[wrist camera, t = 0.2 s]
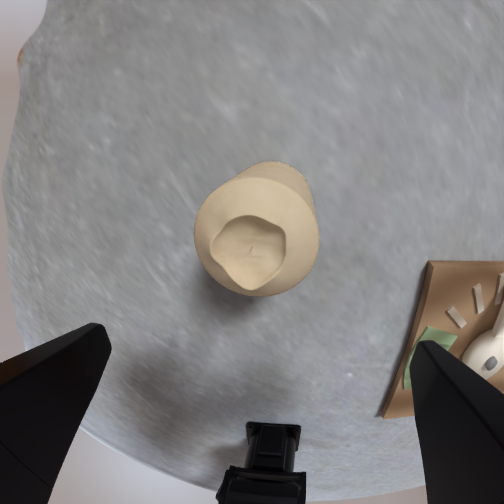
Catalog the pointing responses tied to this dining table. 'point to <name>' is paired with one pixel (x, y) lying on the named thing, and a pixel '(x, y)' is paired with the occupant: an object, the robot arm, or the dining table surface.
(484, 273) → the dial board
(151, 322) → the dining table surface
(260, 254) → the candle
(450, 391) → the robot arm
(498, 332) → the needle
